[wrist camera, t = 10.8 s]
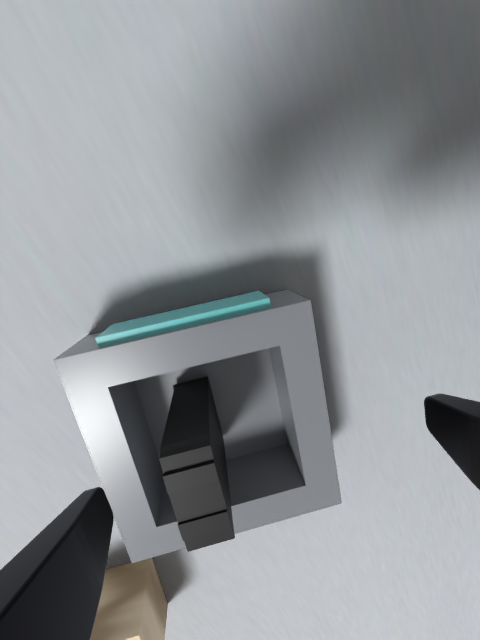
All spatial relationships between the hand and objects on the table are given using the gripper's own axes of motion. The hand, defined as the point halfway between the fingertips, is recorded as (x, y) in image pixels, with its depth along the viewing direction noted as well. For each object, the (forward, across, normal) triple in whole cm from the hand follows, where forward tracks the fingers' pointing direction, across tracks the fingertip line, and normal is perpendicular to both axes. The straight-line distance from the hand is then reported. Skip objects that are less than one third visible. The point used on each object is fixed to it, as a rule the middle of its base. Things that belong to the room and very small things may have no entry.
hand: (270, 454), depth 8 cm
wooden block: (+12, +13, +18) cm, 25 cm away
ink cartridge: (+12, +4, +4) cm, 13 cm away
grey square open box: (+12, +2, +4) cm, 13 cm away
